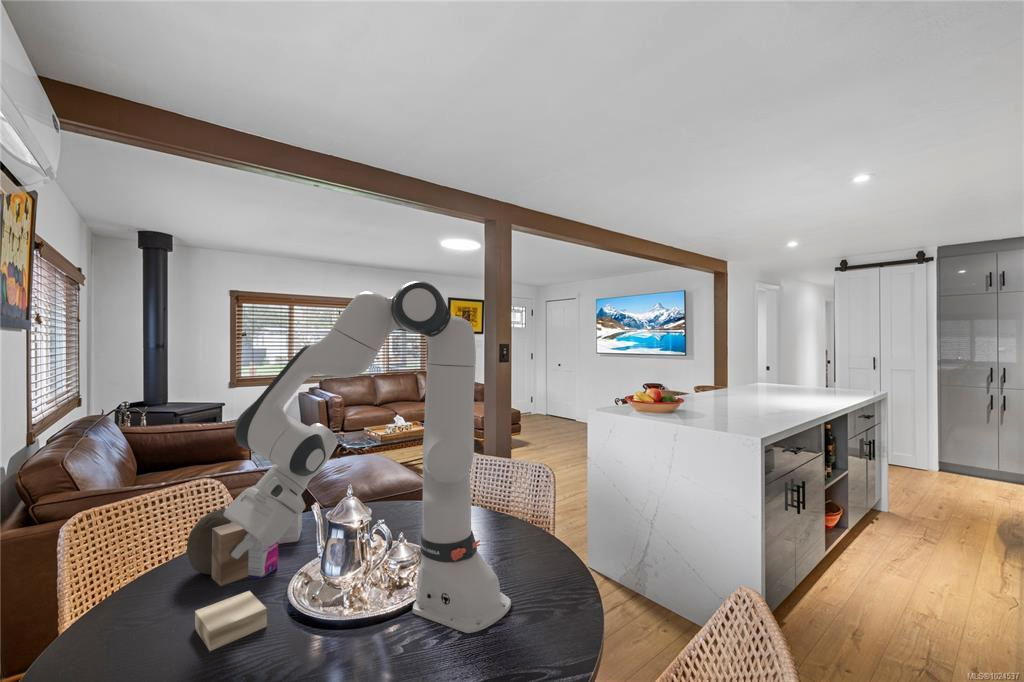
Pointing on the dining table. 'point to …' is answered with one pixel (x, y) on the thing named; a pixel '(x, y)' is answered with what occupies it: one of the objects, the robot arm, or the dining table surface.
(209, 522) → the cantaloupe
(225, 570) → the walnut block
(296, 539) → the small box
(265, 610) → the beech block
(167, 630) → the dining table surface
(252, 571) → the supplement box
